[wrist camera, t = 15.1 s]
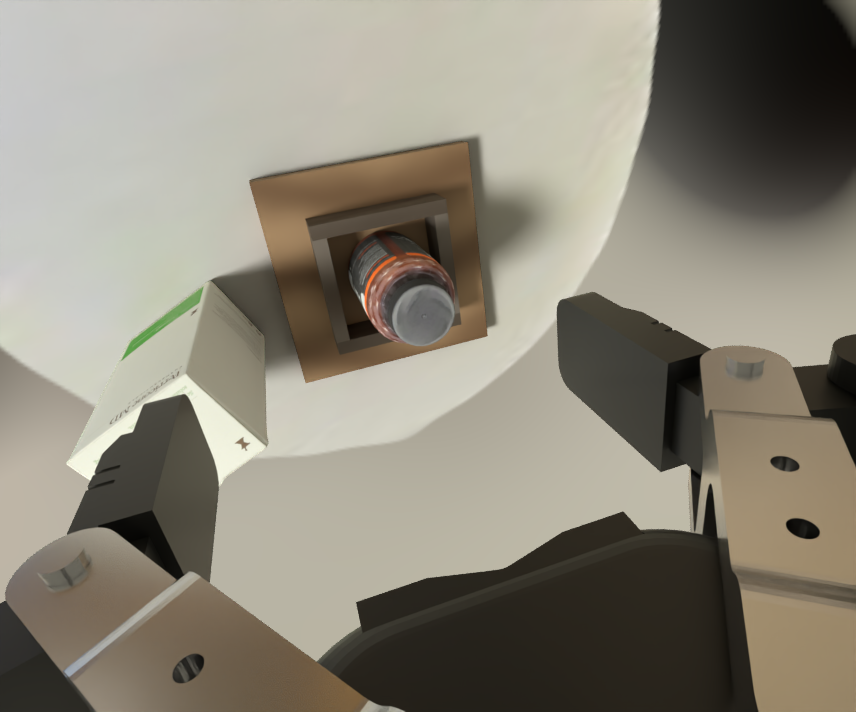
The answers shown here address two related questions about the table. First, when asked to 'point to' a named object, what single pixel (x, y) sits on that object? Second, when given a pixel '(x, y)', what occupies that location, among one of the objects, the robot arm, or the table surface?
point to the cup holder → (346, 226)
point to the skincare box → (188, 381)
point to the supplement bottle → (402, 289)
